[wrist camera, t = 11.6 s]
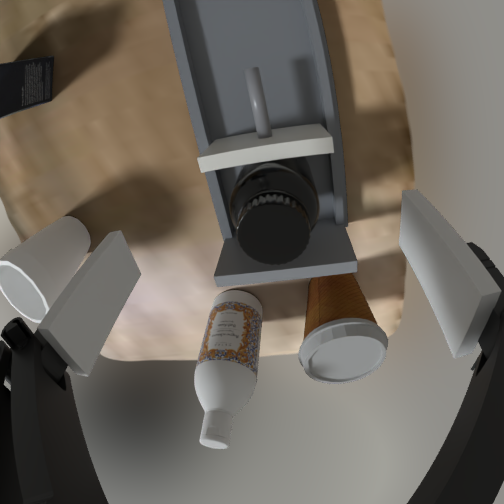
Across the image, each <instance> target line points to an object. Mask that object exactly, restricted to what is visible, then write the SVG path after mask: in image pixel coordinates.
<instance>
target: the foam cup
mask: <svg viewBox="0 0 504 504" xmlns="http://www.w3.org/2000/svg"><path fill="white" fill-rule="evenodd" d="M90 244H91V240H90V234H89V233H88V231H87V229H86V227H85V225H84V224H82V223H81V222H80V221H79V220H78V219H77V218H74V217H72V216H64V217H62V218H60V219H58V220H57V221H55V222H53V223H52V224H50V225H49V226H47V227H45V228H44V229H42V230H41V231H39V232H38V233H36V234H35V235H33V236H32V237H30V238H29V239H27V240H26V241H24V242H23V243H21V244H20V245H19V246H17V247H16V248H14V249H10V250H9V251H8V252H7V253H6V254H5V255H4V256H3V257H2V258H1V259H0V289H1V291H2V292H3V294H4V296H5V297H6V298H7V300H8V301H9V303H10V304H11V305H12V306H13V307H14V308H15V309H16V310H17V311H18V312H20V314H22V315H23V316H25V317H26V318H28V319H29V320H31V321H33V322H36V323H41V321H42V320H43V318H44V317H45V315H46V314H47V312H48V311H49V309H50V308H51V307H52V305H53V304H54V302H55V301H56V299H57V298H58V297H59V295H60V294H61V293H62V291H63V290H64V288H65V287H66V286H67V284H68V283H69V282H70V280H71V279H72V278H73V276H74V274H75V273H76V271H77V269H78V267H79V266H80V264H81V262H82V260H83V259H84V257H85V255H86V254H87V252H88V250H89V248H90Z"/></svg>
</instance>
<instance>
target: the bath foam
mask: <svg viewBox="0 0 504 504" xmlns="http://www.w3.org/2000/svg"><path fill="white" fill-rule="evenodd" d="M262 314H263V310H262V306H261V303H260V302H259V300H258V299H257V298H256V297H254V296H253V295H251V294H250V293H247V292H244V291H240V290H230V291H226V292H223V293H221V294H220V295H218V296H217V297H216V298H215V300H214V302H213V305H212V308H211V312H210V315H209V319H208V323H207V327H206V330H205V334H204V338H203V342H202V346H201V350H200V353H199V357H198V361H197V365H196V369H195V380H194V381H195V389H196V393H197V396H198V398H199V401H200V403H201V405H202V407H203V409H204V411H205V416H204V421H203V425H202V431H201V436H200V443H201V444H202V445H204V446H207V447H210V448H216V449H225V448H228V447H229V444H230V437H231V430H232V422H233V417H234V416H235V415H236V414H237V413H238V412H239V411H240V410H241V409H242V408H243V407H244V406H245V405H246V404H247V402H248V401H249V399H250V398H251V396H252V394H253V392H254V389H255V385H256V382H257V372H258V361H259V350H260V339H261V327H262Z"/></svg>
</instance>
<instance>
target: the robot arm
mask: <svg viewBox="0 0 504 504" xmlns="http://www.w3.org/2000/svg"><path fill="white" fill-rule="evenodd" d="M399 246H400V247H401V249H402V251H403V253H404V254H405V256H406V258H407V260H408V262H409V263H410V265H411V267H412V269H413V271H414V273H415V275H416V277H417V279H418V280H419V282H420V284H421V286H422V288H423V290H424V292H425V294H426V296H427V298H428V300H429V302H430V305H431V307H432V309H433V311H434V313H435V315H436V317H437V320H438V322H439V324H440V326H441V329H442V331H443V333H444V336H445V338H446V341H447V343H448V345H449V348H450V350H451V353H452V355H453V358H458V357H461V356H465V355H468V354H471V353H472V352H473V350H474V348H475V347H476V345H477V343H478V342H479V344H480V346H481V349H482V351H481V353H480V355H479V357H478V358H477V360H476V362H475V363H474V365H473V367H472V368H471V370H474V369H475V370H474V373H473V376H472V379H471V382H470V384H469V387H468V390H467V392H466V395H465V397H464V400H463V402H462V405H461V408H460V410H459V412H458V414H457V417H456V419H455V421H454V423H453V425H452V427H451V430H450V432H449V434H448V436H447V438H446V440H445V442H444V444H443V446H442V448H441V449H440V451H439V454H438V455H437V457H436V459H435V460H434V462H433V464H432V466H431V467H430V469H429V471H428V472H427V474H426V476H425V477H424V479H423V480H422V482H421V484H420V485H419V487H418V488H417V490H416V491H415V493H414V494H413V496H412V497H411V499H410V500H409V502H408V503H407V504H493V502H494V500H495V498H496V496H497V494H498V492H499V490H500V488H501V485H502V483H503V481H504V277H503V275H502V274H501V273H500V271H499V270H498V269H497V268H495V265H494V263H493V262H492V261H491V260H490V258H489V257H488V256H487V255H486V253H485V252H484V251H483V250H482V249H481V248H480V247H478V246H477V245H475V244H474V243H472V242H470V243H465V241H464V240H463V239H462V238H461V236H460V235H459V234H458V233H457V232H456V231H455V229H454V228H453V227H452V226H451V225H450V224H449V223H448V221H447V220H446V219H445V218H444V217H443V216H442V215H441V214H440V213H439V211H438V210H437V209H436V208H435V207H434V206H433V205H432V204H431V203H430V202H429V201H428V200H427V199H426V198H425V197H424V196H423V195H422V194H421V193H420V192H419V191H418V190H404V191H402V208H401V225H400V238H399ZM140 276H141V272H140V270H139V268H138V266H137V264H136V262H135V260H134V258H133V256H132V253H131V251H130V249H129V247H128V245H127V242H126V240H125V238H124V236H123V233H122V231H121V230H119V231H114V232H109V234H108V235H107V236H106V237H105V238H104V239H103V241H102V242H101V243H100V244H99V245H98V246H97V248H96V249H95V250H94V251H93V253H92V254H91V255H90V256H89V257H88V259H87V260H86V261H85V262H84V264H83V265H82V266H81V267H80V269H79V270H78V271H77V273H76V274H75V275H74V276H73V278H72V279H71V280H70V282H69V283H68V284H67V286H66V287H65V288H64V290H63V291H62V293H61V294H60V295H59V297H58V298H57V299H56V301H55V302H54V304H53V305H52V307H51V308H50V309H49V311H48V312H47V314H46V315H45V317H44V318H43V320H42V321H41V323H40V324H39V326H38V327H37V330H36V332H35V333H34V334H33V333H32V331H31V330H30V329H29V327H28V326H27V325H26V324H25V322H24V321H23V319H22V318H20V317H17V318H14V319H13V320H11V321H10V322H9V323H8V324H7V325H6V326H5V327H4V329H3V330H2V333H1V337H2V338H3V339H4V340H5V341H6V343H7V344H8V345H9V346H10V347H11V348H9V347H8V346H7V345H6V344H5V342H4V341H2V340H1V341H0V504H108V501H107V499H106V497H105V495H104V492H103V490H102V487H101V485H100V482H99V480H98V477H97V474H96V472H95V469H94V466H93V463H92V460H91V457H90V455H89V451H88V448H87V445H86V442H85V438H84V435H83V432H82V428H81V424H80V420H79V417H78V412H77V408H76V404H75V400H74V395H73V390H72V386H71V380H70V376H69V374H68V373H67V372H66V371H65V370H66V368H67V366H69V367H70V368H71V369H72V370H73V371H74V372H75V373H76V374H78V375H84V376H89V375H90V372H91V370H92V368H93V366H94V364H95V362H96V360H97V358H98V355H99V353H100V351H101V349H102V347H103V345H104V343H105V341H106V339H107V337H108V335H109V333H110V331H111V329H112V327H113V325H114V323H115V321H116V320H117V318H118V316H119V314H120V312H121V310H122V308H123V306H124V304H125V303H126V301H127V299H128V297H129V295H130V293H131V292H132V290H133V288H134V286H135V284H136V283H137V281H138V279H139V277H140ZM5 379H6V381H7V382H8V383H9V384H10V385H11V391H10V390H9V389H8V388H6V387H5V386H4V381H5Z"/></svg>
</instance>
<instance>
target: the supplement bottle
mask: <svg viewBox="0 0 504 504" xmlns="http://www.w3.org/2000/svg"><path fill="white" fill-rule="evenodd" d="M229 209H230V215H231V219H232V222H233V224H234V226H235V228H236V229H237V231H236V235H237V241H238V242H239V246H240V247H241V248H242V250H243V252H245V253H246V254H247V256H249V257H251V258H252V259H253V260H256V261H257V262H259V263H264V264H270V265H275V264H276V265H280V264H286V263H287V262H291V261H293V260H294V259H296V258H298V256H299V255H301V254H302V253H303V251H304V250H305V249H306V247H307V245H308V244H309V239H310V237H311V235H310V233H311V232H312V230H313V229H314V227H315V226H316V223H317V221H318V218H319V213H320V203H319V197H318V193H317V190H316V186H315V183H314V179H313V176H312V173H311V169H310V166H309V164H308V161H307V160H306V158H305V157H304V156H300V157H293V158H285V159H278V160H271V161H264V162H258V163H252V164H246V165H242V168H241V170H240V173H239V175H238V178H237V181H236V183H235V186H234V188H233V191H232V194H231V198H230V204H229Z"/></svg>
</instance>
